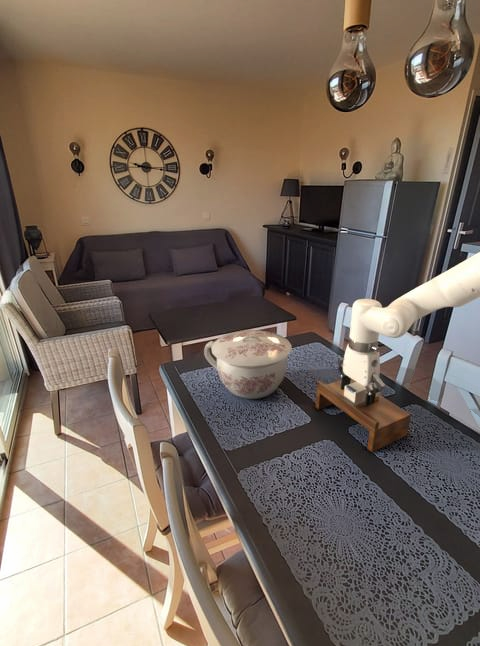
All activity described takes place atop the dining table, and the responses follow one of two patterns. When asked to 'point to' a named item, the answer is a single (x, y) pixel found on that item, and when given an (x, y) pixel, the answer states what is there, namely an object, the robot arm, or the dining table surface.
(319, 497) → the dining table surface
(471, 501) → the dining table surface
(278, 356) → the chamber pot
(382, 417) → the shoe shelf
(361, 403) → the slotted cream box
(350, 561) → the dining table surface
